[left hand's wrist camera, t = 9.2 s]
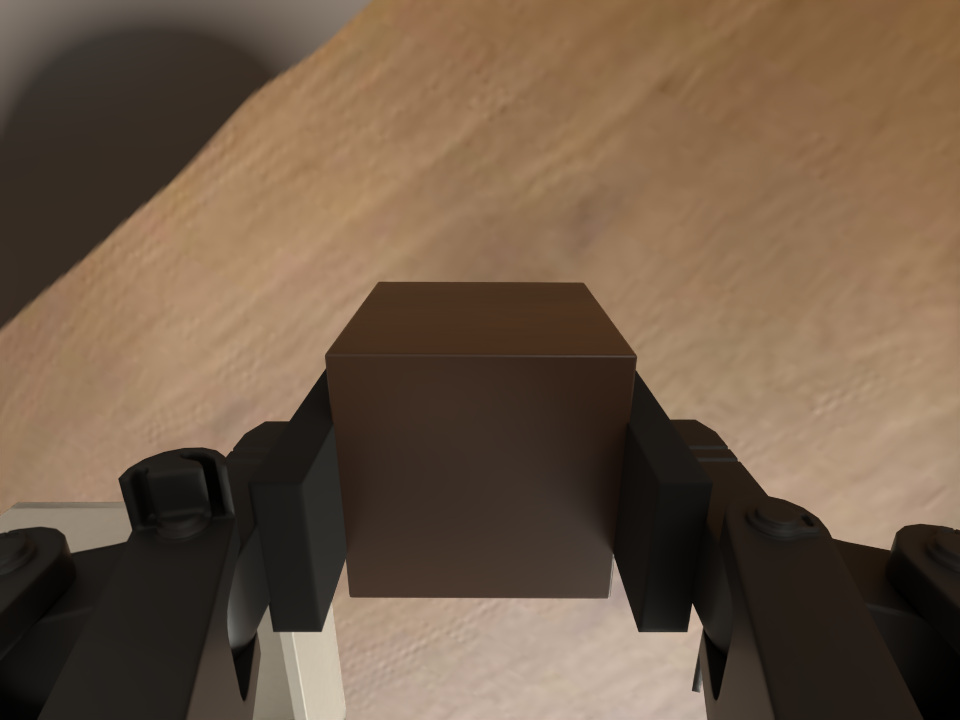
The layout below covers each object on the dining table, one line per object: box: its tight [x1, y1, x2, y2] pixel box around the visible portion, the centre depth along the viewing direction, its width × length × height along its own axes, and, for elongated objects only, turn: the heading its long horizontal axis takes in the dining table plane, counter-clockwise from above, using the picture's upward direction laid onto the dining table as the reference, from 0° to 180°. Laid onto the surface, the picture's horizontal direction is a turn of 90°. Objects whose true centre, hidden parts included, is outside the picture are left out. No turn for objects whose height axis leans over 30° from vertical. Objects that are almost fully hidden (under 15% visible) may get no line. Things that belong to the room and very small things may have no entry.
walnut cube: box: [325, 282, 637, 599], centre depth 12 cm, size 5×5×5 cm
